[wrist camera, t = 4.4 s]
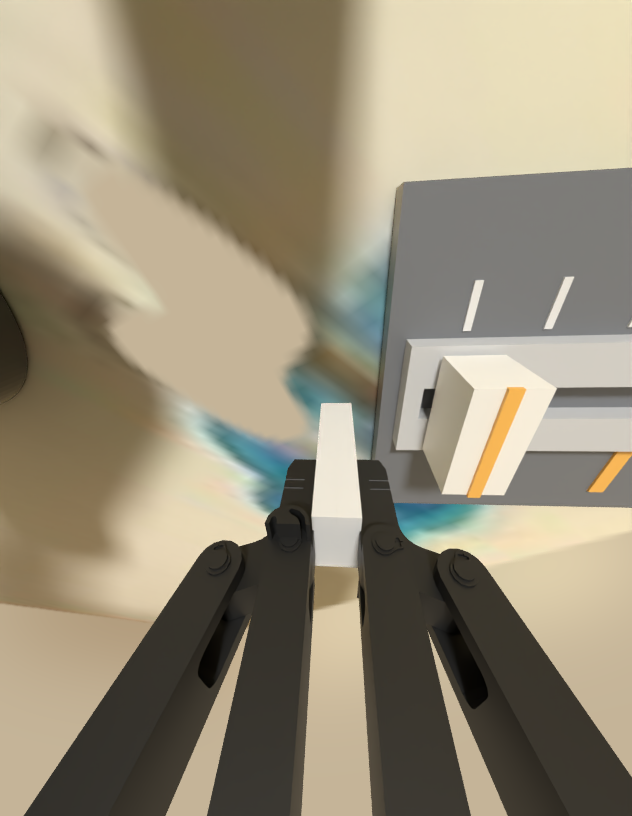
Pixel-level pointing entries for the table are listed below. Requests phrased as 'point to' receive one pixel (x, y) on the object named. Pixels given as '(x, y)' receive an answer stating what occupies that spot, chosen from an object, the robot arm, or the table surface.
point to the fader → (482, 422)
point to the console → (515, 325)
